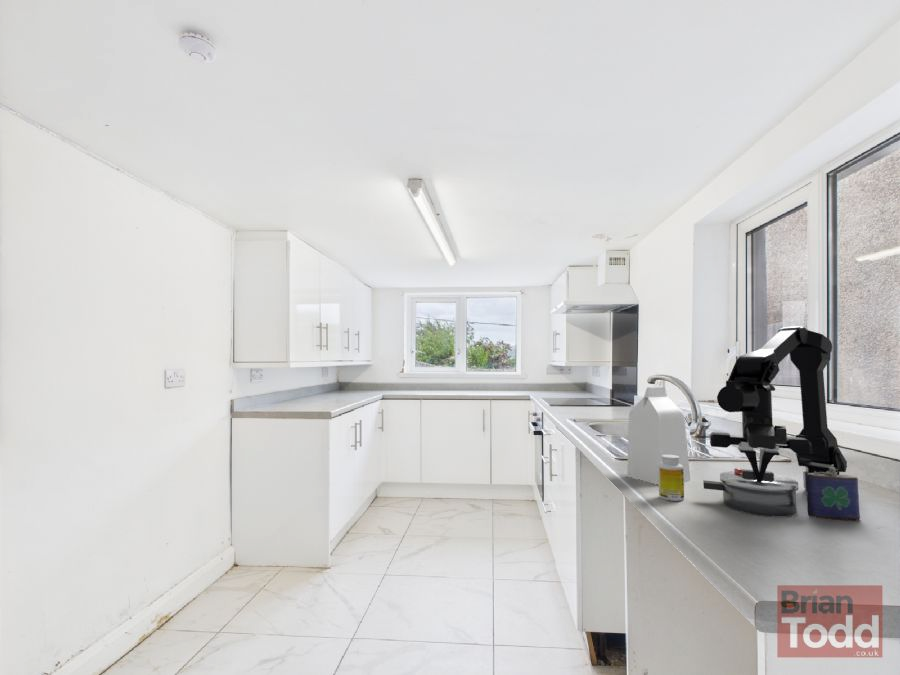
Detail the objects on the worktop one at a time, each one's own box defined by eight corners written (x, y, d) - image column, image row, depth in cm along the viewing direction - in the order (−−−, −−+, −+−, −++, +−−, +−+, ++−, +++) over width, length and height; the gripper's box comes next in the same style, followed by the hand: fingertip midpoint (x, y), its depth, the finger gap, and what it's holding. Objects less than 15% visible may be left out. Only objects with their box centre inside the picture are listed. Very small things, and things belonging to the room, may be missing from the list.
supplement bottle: (687, 502, 110) (685, 458, 111) (662, 501, 112) (660, 457, 112) (680, 496, 116) (679, 454, 116) (656, 494, 117) (655, 453, 118)
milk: (661, 485, 125) (658, 388, 127) (627, 476, 136) (625, 386, 137) (690, 480, 131) (687, 387, 132) (655, 472, 141) (653, 385, 143)
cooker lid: (791, 480, 110) (790, 468, 111) (805, 495, 97) (804, 481, 97) (718, 473, 117) (717, 462, 117) (722, 487, 104) (721, 474, 104)
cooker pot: (788, 500, 111) (787, 479, 112) (803, 520, 97) (802, 496, 98) (703, 491, 120) (702, 471, 120) (705, 508, 106) (704, 486, 106)
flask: (856, 517, 99) (853, 466, 100) (864, 522, 97) (861, 469, 97) (805, 514, 102) (803, 464, 102) (811, 518, 99) (809, 467, 100)
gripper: (711, 411, 102) (713, 484, 101) (817, 416, 94) (820, 495, 93) (708, 408, 112) (710, 474, 111) (804, 412, 104) (807, 483, 103)
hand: (759, 481), depth 104 cm, fingers closed, pressing on cooker lid
